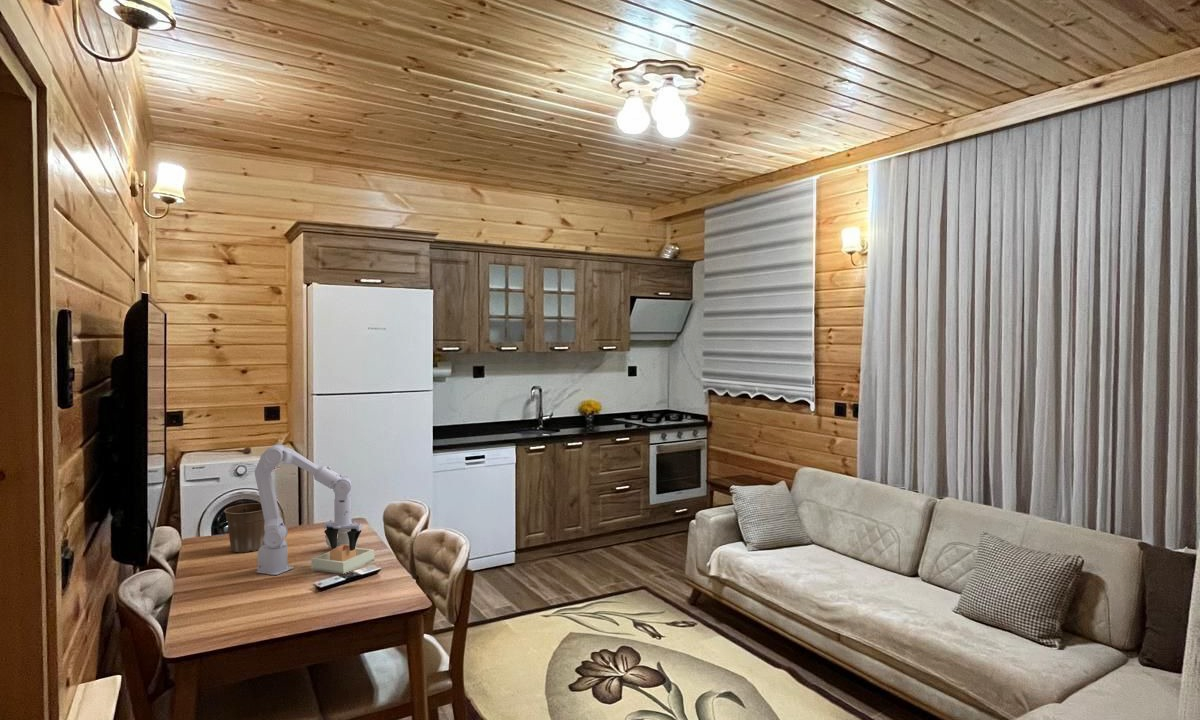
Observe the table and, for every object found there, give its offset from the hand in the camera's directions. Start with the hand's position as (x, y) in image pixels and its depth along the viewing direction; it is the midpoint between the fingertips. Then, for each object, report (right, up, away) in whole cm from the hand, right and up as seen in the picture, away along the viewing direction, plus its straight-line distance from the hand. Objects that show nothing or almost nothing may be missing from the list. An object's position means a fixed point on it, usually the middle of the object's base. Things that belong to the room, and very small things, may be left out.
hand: (343, 549), depth 243 cm
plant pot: (-45, -6, +21) cm, 50 cm away
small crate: (0, -5, 0) cm, 5 cm away
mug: (-8, -6, +20) cm, 23 cm away
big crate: (0, -6, 0) cm, 6 cm away
